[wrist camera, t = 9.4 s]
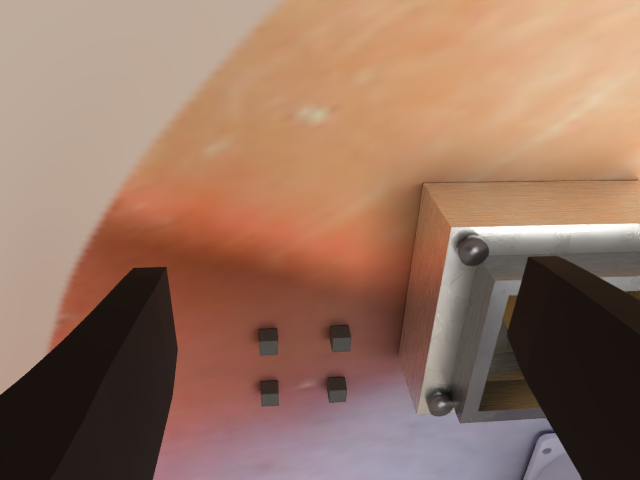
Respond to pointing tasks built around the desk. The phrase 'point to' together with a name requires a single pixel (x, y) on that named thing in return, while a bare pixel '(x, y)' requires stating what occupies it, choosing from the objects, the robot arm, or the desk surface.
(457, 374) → the silver open square box
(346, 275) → the desk surface
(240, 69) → the desk surface
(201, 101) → the desk surface
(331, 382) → the cradle
